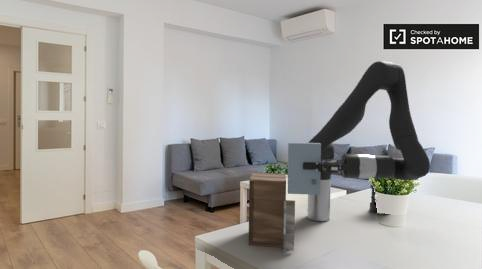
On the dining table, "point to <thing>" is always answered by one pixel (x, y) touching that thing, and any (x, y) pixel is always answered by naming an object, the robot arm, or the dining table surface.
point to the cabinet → (270, 212)
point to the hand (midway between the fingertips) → (302, 165)
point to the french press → (373, 201)
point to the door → (297, 176)
